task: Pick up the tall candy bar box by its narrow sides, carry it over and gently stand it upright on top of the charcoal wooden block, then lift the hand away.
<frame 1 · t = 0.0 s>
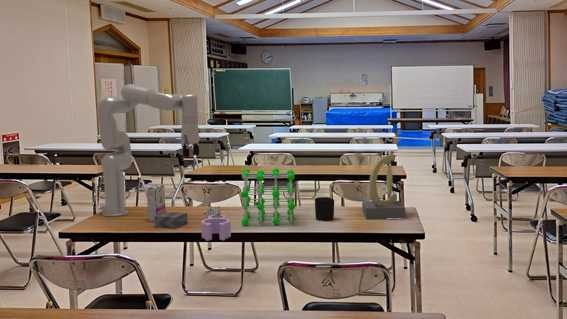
hand: (191, 155, 295), 31 cm above the table, tool pointing down, fingers open, 9 cm apart
pen holder: (324, 219, 295), on the table
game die: (213, 223, 291), on the table
charcoal block: (171, 225, 287), on the table
molecular structure model: (268, 220, 295), on the table
candy bar box: (156, 219, 301), on the table
clip: (216, 235, 267), on the table
trophy: (383, 215, 303), on the table
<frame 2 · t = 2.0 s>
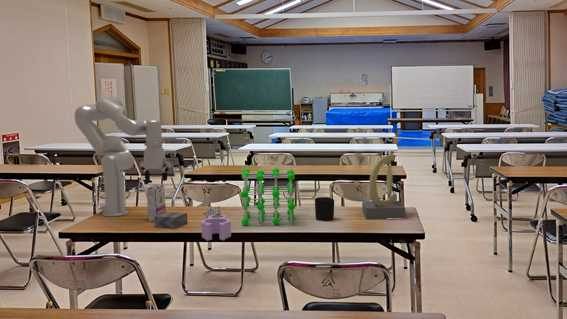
hand: (156, 180, 299), 19 cm above the table, tool pointing down, fingers open, 9 cm apart
nothing on the table moved.
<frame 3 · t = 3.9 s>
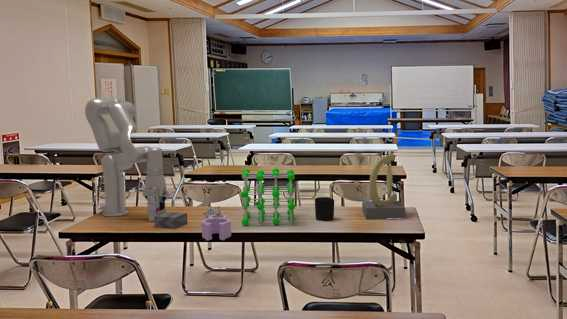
hand: (156, 209, 301), 5 cm above the table, tool pointing down, fingers closed on candy bar box, 5 cm apart
candy bar box: (156, 219, 301), on the table, touching gripper
everything else where it was.
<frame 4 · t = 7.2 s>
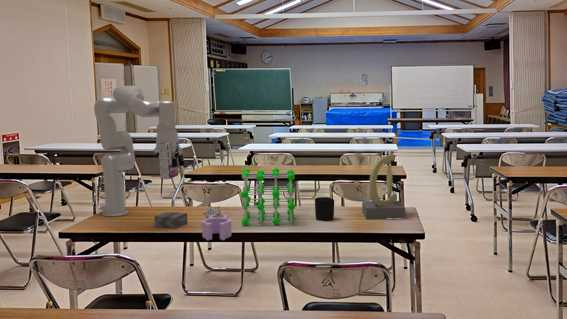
hand: (168, 166, 284), 28 cm above the table, tool pointing down, fingers closed on candy bar box, 5 cm apart
candy bar box: (169, 177, 285), point 22 cm above the table, touching gripper
everything else where it was.
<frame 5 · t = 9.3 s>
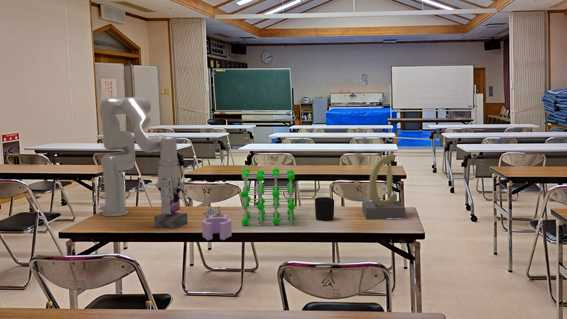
hand: (170, 201, 286), 11 cm above the table, tool pointing down, fingers closed on candy bar box, 5 cm apart
candy bar box: (170, 212, 286), point 6 cm above the table, touching gripper
everything else where it was.
when the fingers open (10 cm above the table, at t = 11.0 s): candy bar box stays where it is, resting on charcoal block.
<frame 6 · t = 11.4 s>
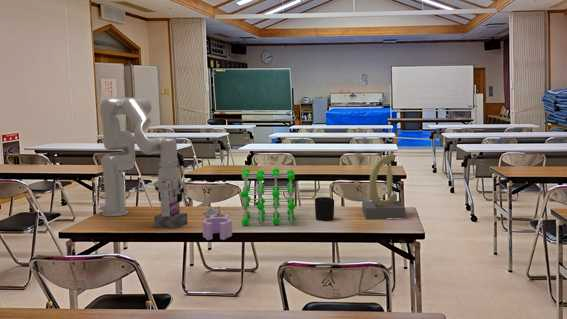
hand: (170, 201, 286), 11 cm above the table, tool pointing down, fingers open, 9 cm apart
candy bar box: (170, 215, 287), point 5 cm above the table, touching charcoal block
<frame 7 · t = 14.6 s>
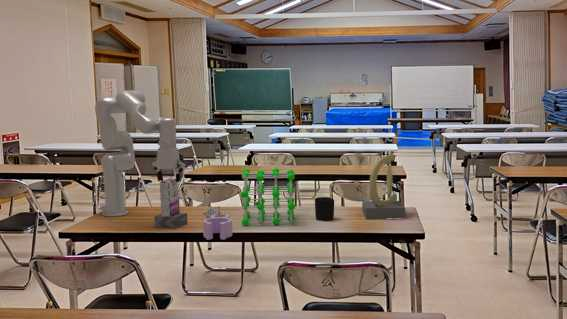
hand: (169, 181, 286), 21 cm above the table, tool pointing down, fingers open, 9 cm apart
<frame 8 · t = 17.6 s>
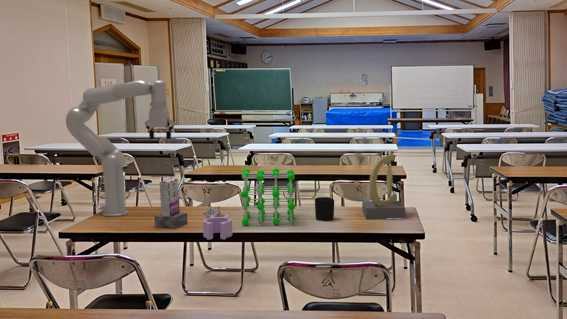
hand: (160, 138, 312), 38 cm above the table, tool pointing down, fingers open, 9 cm apart
at the end: candy bar box inside the target area on the charcoal block (0.3 cm from its centre), point 4.8 cm above the charcoal block's base; candy bar box tilted 0°; the gripper is holding nothing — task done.
